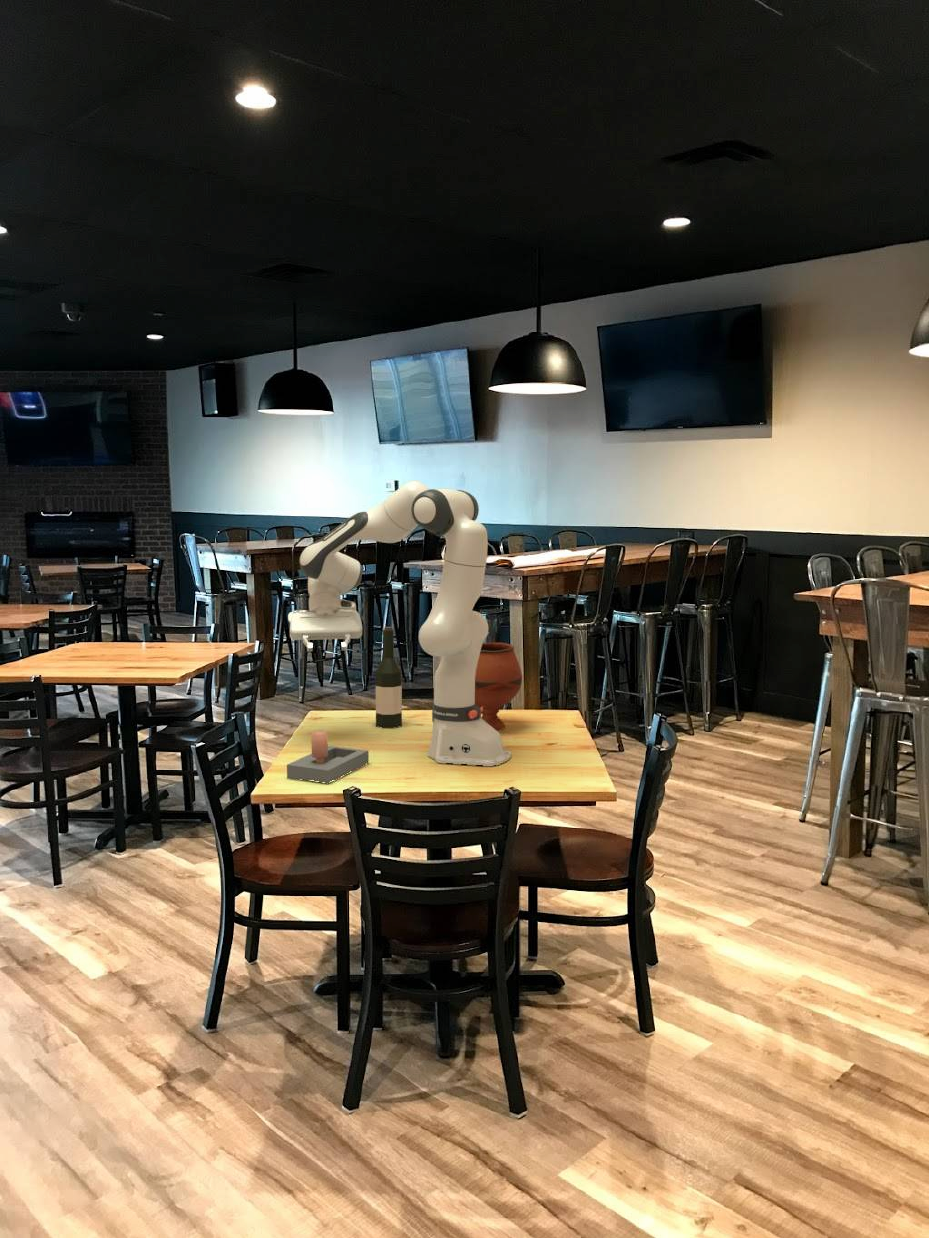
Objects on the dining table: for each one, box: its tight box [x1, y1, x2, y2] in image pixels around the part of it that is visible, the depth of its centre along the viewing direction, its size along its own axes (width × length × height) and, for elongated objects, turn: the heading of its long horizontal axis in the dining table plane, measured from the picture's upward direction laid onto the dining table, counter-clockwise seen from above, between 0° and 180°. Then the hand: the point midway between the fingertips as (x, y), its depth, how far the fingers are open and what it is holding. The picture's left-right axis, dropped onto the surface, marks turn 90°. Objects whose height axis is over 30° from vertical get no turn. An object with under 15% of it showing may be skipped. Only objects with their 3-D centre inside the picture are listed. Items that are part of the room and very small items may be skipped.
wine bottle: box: [374, 626, 403, 729], centre depth 304 cm, size 8×8×30 cm
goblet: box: [475, 642, 523, 731], centre depth 302 cm, size 19×19×25 cm
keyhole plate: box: [286, 745, 370, 783], centre depth 258 cm, size 20×12×4 cm, turn 156°
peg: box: [310, 730, 329, 764], centre depth 254 cm, size 5×5×11 cm
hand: (327, 649), depth 278 cm, fingers open, 8 cm apart
